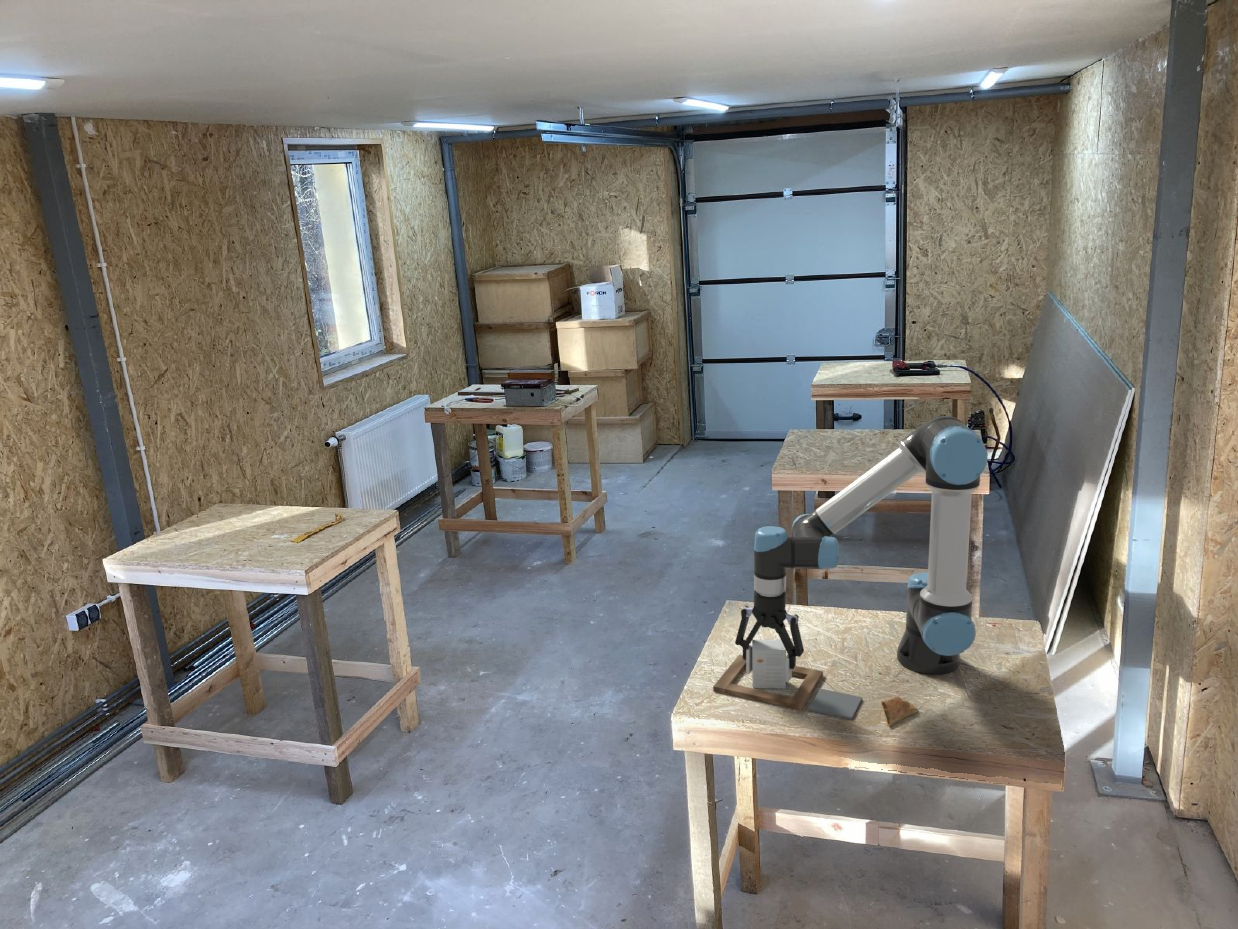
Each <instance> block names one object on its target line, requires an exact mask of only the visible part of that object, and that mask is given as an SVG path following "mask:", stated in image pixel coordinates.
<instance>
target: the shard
mask: <svg viewBox="0 0 1238 929" xmlns="http://www.w3.org/2000/svg"><path fill="white" fill-rule="evenodd" d="M880 705H881V707H882V710H883V715H884V718H885V722H887V723H886V724H887V726H888V728H891V727H892V726H894V725H895V724H896V723H898V722H900V721H901V720H903V719H905V718H907V717H909V716H912V715H913V714H916V713H917V712H919V709H918V707H917V706H915V705H914V704H913V703H911V702H909V701H906V699H905V700H904V699H902V698H901V697H899V696H893V697H891V698H890V699H886V700H883V701H880Z"/></svg>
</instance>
